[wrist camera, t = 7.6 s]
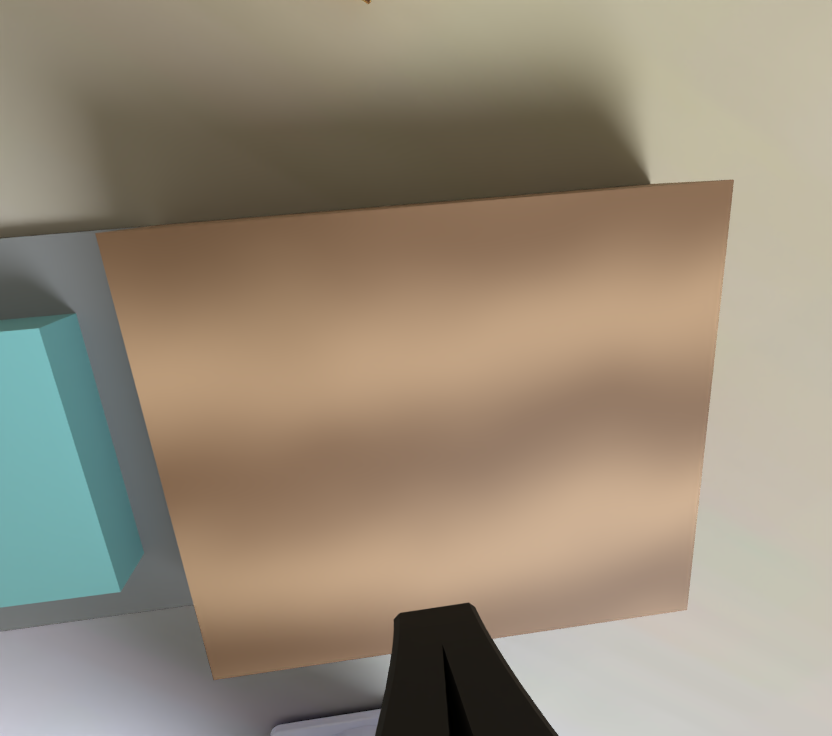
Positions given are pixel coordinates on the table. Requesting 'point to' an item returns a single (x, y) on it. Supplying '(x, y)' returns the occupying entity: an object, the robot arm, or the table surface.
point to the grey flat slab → (92, 302)
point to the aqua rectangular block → (58, 471)
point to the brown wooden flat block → (427, 411)
